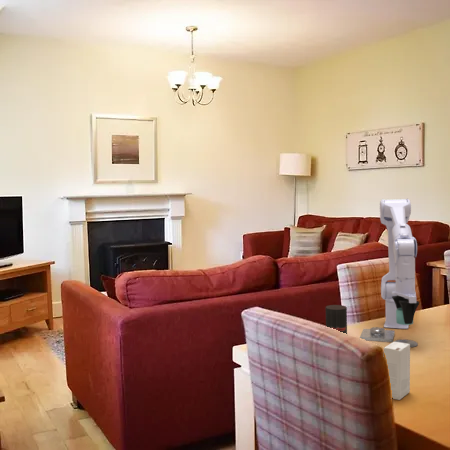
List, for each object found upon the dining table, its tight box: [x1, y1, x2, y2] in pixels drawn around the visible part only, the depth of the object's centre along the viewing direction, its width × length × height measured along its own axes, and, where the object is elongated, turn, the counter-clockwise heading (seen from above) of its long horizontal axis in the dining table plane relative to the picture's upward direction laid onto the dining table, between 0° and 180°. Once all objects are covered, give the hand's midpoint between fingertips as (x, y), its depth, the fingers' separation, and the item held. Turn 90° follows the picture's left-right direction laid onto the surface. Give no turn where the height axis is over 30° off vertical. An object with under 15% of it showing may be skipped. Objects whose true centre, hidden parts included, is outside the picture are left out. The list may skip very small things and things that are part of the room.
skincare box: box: [383, 341, 411, 401], centre depth 130 cm, size 6×4×12 cm
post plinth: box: [359, 326, 395, 343], centre depth 178 cm, size 10×10×2 cm
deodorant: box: [325, 304, 348, 335], centre depth 158 cm, size 6×6×15 cm
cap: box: [396, 308, 414, 325], centre depth 169 cm, size 5×5×5 cm
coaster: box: [393, 339, 419, 348], centre depth 169 cm, size 7×7×1 cm
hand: (405, 321), depth 169 cm, fingers closed on cap, 5 cm apart
